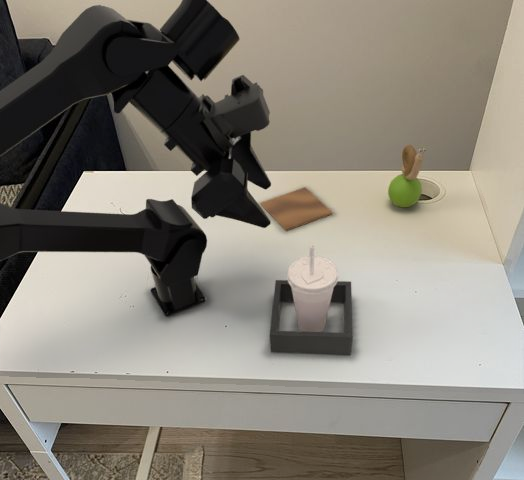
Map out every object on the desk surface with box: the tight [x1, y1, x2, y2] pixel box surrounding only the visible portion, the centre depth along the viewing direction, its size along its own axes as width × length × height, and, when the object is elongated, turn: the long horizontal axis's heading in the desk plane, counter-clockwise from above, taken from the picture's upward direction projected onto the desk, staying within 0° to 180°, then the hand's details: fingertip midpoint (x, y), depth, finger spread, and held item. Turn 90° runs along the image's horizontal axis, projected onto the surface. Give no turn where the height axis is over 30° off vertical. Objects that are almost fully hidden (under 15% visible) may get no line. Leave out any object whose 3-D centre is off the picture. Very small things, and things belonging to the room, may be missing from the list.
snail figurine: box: [387, 144, 427, 208], centre depth 89 cm, size 5×6×12 cm
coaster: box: [260, 187, 333, 232], centre depth 94 cm, size 9×9×1 cm
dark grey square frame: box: [269, 279, 354, 356], centre depth 75 cm, size 11×11×4 cm
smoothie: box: [286, 245, 339, 332], centre depth 71 cm, size 6×6×14 cm
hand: (268, 205), depth 70 cm, fingers open, 9 cm apart
